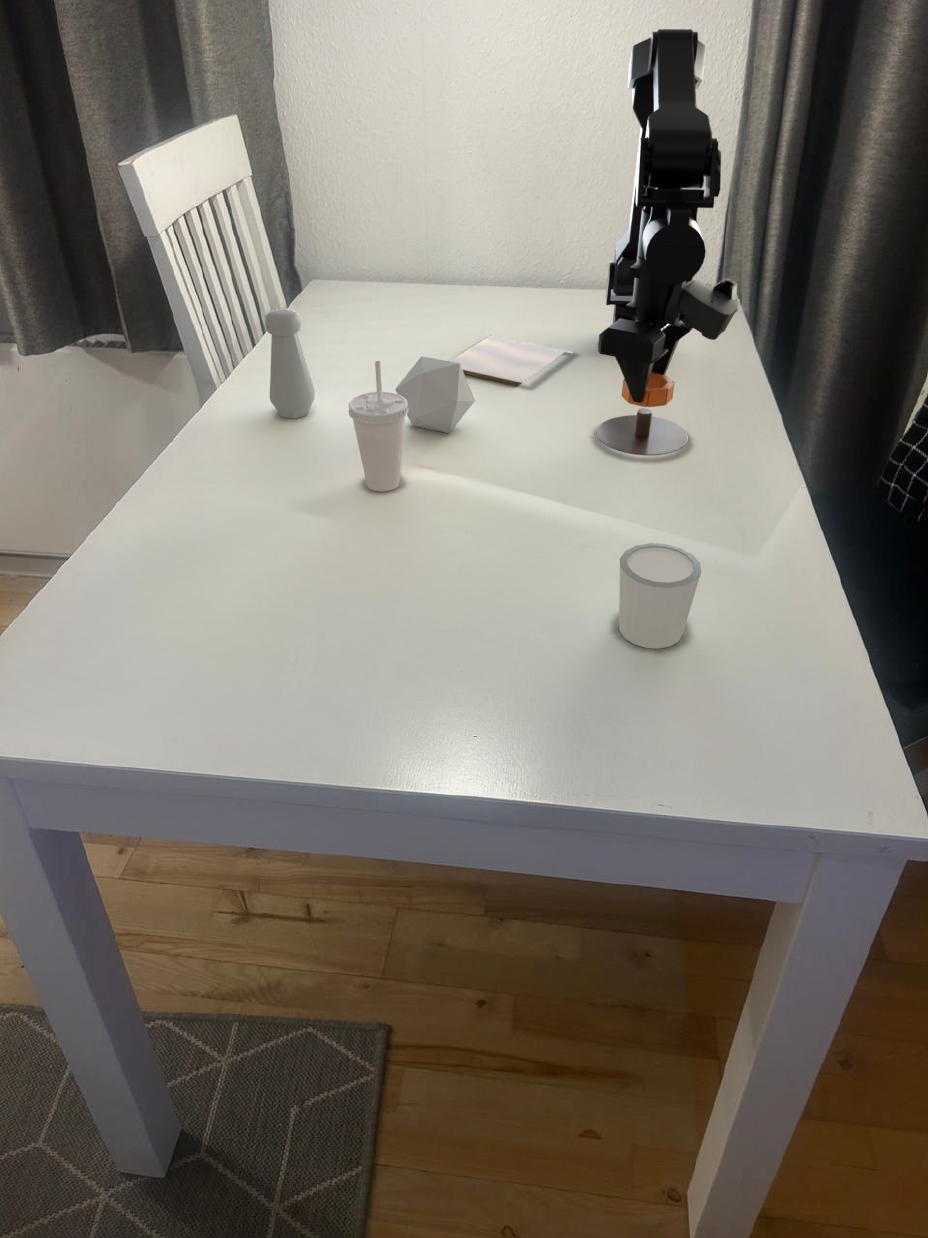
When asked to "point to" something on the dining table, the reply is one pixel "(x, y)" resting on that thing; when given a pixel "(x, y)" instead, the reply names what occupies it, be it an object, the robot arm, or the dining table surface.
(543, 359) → the trivet
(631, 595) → the shot glass
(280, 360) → the salt shaker
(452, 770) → the dining table surface
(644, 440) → the ring post
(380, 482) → the smoothie
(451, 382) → the die
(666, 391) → the ring
